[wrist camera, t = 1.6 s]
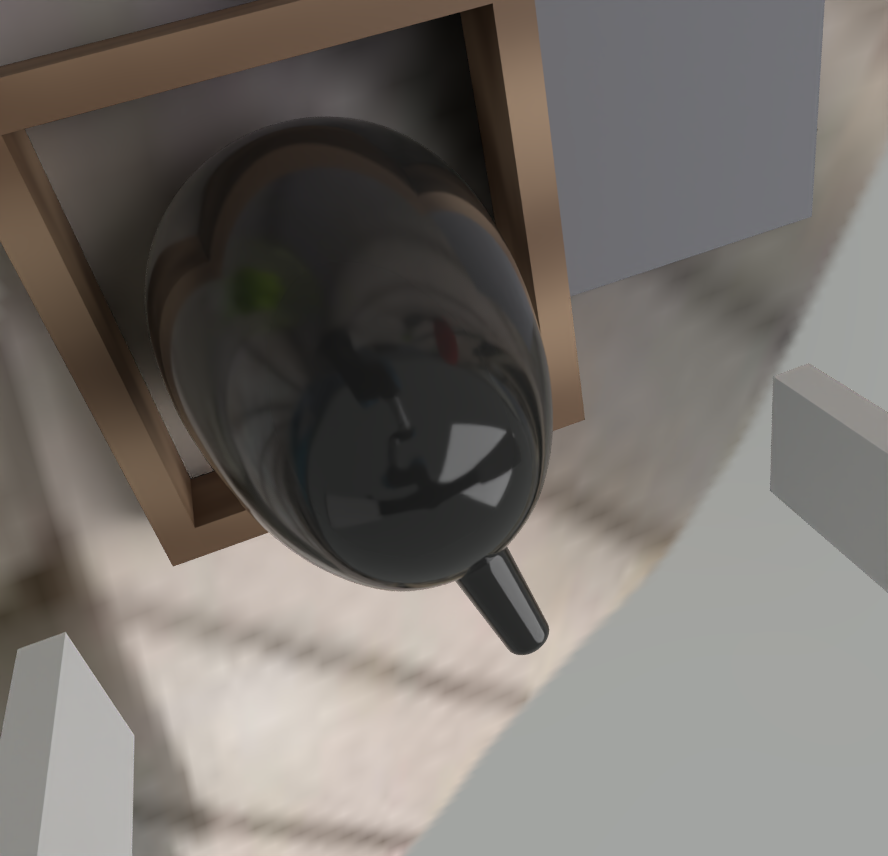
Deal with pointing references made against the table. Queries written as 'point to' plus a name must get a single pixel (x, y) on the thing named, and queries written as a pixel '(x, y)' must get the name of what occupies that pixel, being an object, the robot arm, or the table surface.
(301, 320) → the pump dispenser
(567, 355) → the frame
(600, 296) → the table surface
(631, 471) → the table surface
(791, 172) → the rubber mat
